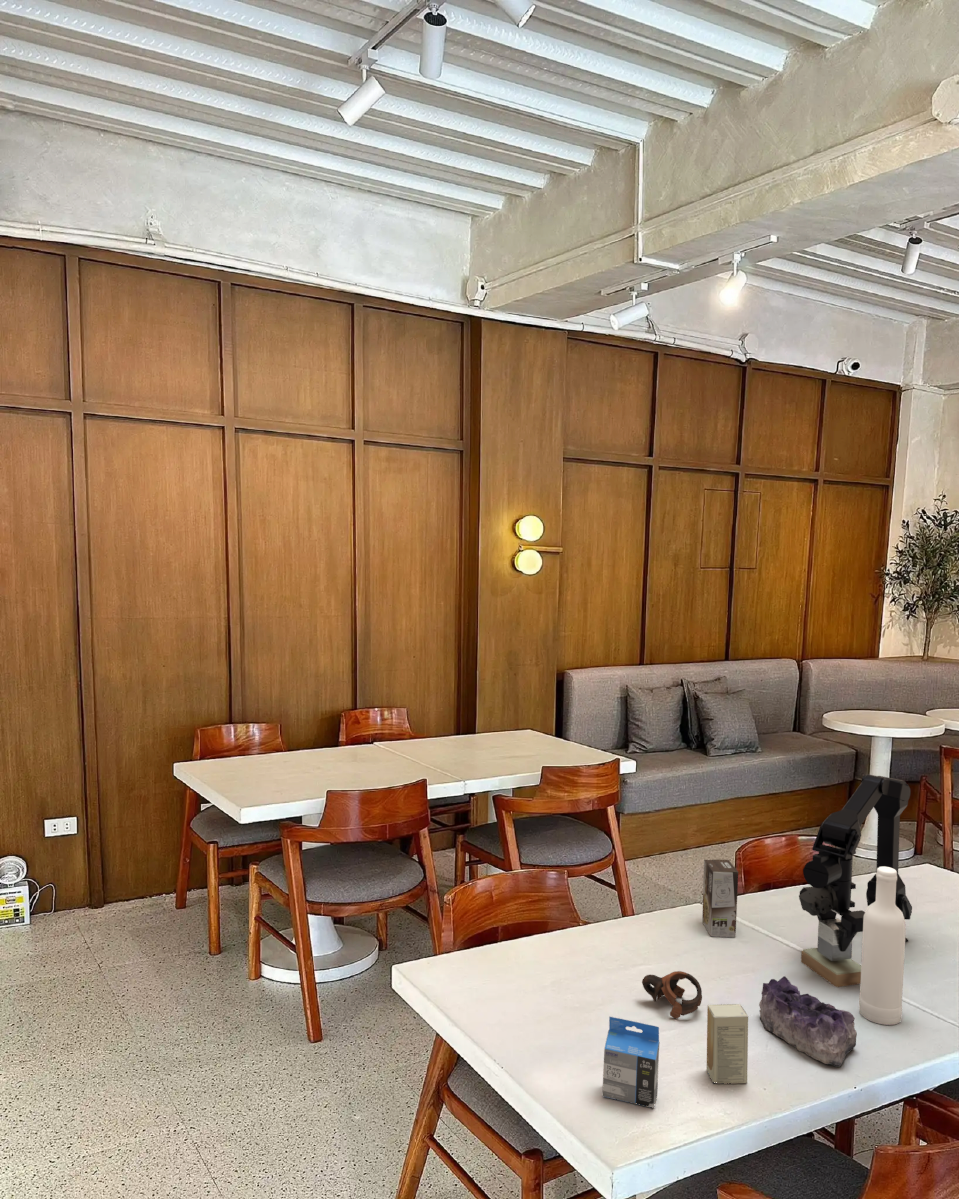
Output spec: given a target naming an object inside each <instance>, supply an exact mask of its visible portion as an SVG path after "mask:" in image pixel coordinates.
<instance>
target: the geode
mask: <svg viewBox="0 0 959 1199" xmlns="http://www.w3.org/2000/svg"><path fill="white" fill-rule="evenodd" d="M758 1006H759V1009H760V1010H759V1015H760V1018H759V1019H760V1021H761V1023H762V1025H763V1028H764V1029H765V1030H767V1031H768V1032H770V1033H773V1034H774V1035H775V1036H777V1037H778V1038H781V1040H783V1041H784V1042H786V1043H788V1044H789V1045H791V1046H792V1047H794V1048H796V1049H797V1051H798V1052H800V1053H805V1055H807V1056H809V1057H811V1058H812V1059H814V1060H816V1061H819V1062H821V1063H823V1064H825V1065H832V1067H837V1068H839V1067H841V1066H842V1064H843V1063H844V1061H845V1059H846V1056H847V1055H848V1054H849V1053H850V1052H851V1051H853V1050H854V1049H855V1047H856V1046H857V1036H858V1035H857V1030H856V1029H855V1017H854V1015H853V1014H852V1012H850V1011H846V1010H844V1009H838V1008H836V1006H834V1005H832V1004H830V1003H825V1002H823V1001H820V1000H819V999H818V997H815V996H813V995H810V994H809V993H803V994H801V991H800V990H799V988H798V986H796V985H794V984H792V983H791V981H790V980H789V979H788V978H787V977H786V975H784V976H782V977H781V978H780V979H779V980H776V979H775V978H771V979H770V980H769V982H768V983H767V982H763V983H762V989H761V999H760V1001H759V1003H758Z"/></svg>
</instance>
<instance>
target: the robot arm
mask: <svg viewBox="0 0 959 1199" xmlns="http://www.w3.org/2000/svg"><path fill="white" fill-rule="evenodd" d="M910 797H911V788H910V786H909V784H907V782H906V781H905V780H902V779H896V778H892V777H888V776H887V777H886V776H882V775H875V774H874V775H873V774H870V773H868V774H864V775H863V776H862V778H861V783H860V784H859V786H858V787H857V788H856V790H855V791H854V793H853V794H852V795H851V797H850V798H849V799H848V801H847V802H846V803H845V805H844V806H843V807H842V809H840V810H837V811H834V812H832V813H830V814H829V815H828V816H827V817H826V818H825V819H824V821H823V822H822V823H821V824H820V826H819V829H818V831H817V834H816V838H815V840H814V843H813V845H812V850H811V851H815V852H816V853H815V854H813V855H812V860H809V861H808V862H806V863H805V865H804V866H803V868H802V872H803V873H802V875H803V877H804V879H805V881H806V883H807V884H808V885H809V886H804V887H802V888H801V889H800V891H799V894H798V899H799V902H800V906H801V909H802V911H804V912H807V913H809V915H811V916H813V917H816V918H817V920H818V921H819V920H828V919H836V918H837V915H839V916H840V920H841V922H835V923H834V924H835V925H836V926H837V927H838V928H839V944H840V951H841V952H844V951H846V949H847V948H848V946H849V944H850V943H851V941H852V942H853V939H854V938H855V936H857V933H863V918H864V914H865V911H864V910H861V909H860V910H853V911H852V910H850V908H855V907H856V902H855V901H853V900H852V898H851V897H852V890H855V889H857V888H856V887H857V886H856V885H857V884H856V883H854V882H852V880H853V860H854V859H853V858H854V857H853V856H854V855H856V853H857V851H856V850H857V848H858V846H859V844H860V842H861V837H862V832H861V827H862V824H863V823H864V821H865V820H866V819H867V817H868V816H869V815H870V813H871V811H872V810H873V809H874V811H875V812H876V814H877V828H876V830H877V835H876V843H877V844H876V866H875V867H876V868H875V869H876V870H875V873H874V875H873V877H872V878H870V880H868V881H867V884H866V885H867V889H866V893H865V894H866V895H865V896H866V898H865V899H866V905H867V907H868V906H869V905H871V904H872V903H874V902H875V901H876V881H877V878H876V873H877V868H879V867H882V866H884V867H890V868H893V869H895V870H896V871H897V881H896V899H895V905H896V906H897V907H898V908H899V909H900V910H901V911H902V913H903V916H904V919H905V921H906V920H908V921H909V920H911V916H912V914H913V906H912V904H911V901H910V900H909V898H908V896H907V893H906V885H905V882H904V881H903V879H902V878H901V876H900V874H899V864H900V861H899V858H900V855H899V854H900V828H901V827H900V825H901V824H900V822H901V820H900V818H901V815H902V813H903V811H905V809H906V808H907V807H908V805H909V799H910ZM823 843H824V844H823ZM908 942H909V939H908V938H907V937H905V943H908Z"/></svg>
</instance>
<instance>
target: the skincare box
mask: <svg viewBox="0 0 959 1199" xmlns="http://www.w3.org/2000/svg"><path fill="white" fill-rule="evenodd" d="M706 1016H707V1020H706V1023H707V1024H706V1028H707V1029H706V1072H707V1071H708V1072H707V1074H708V1073H709V1074H708V1076H709V1075H710V1076H709V1078H711V1079H712V1081H713V1082H715V1083H716V1082H717V1083H724V1085H726V1084H727V1083H728V1084H729V1083H731V1084H748V1053H749V1052H748V1051H749V1049H748V1047H749V1042H748V1041H749V1015H748V1014H747V1012H746V1011H745V1009H744V1007H743V1005H742V1004H740V1003H739V1004H737V1003H732V1004H729V1003H728V1004H727V1003H726V1004H725V1003H724V1004H722V1003H721V1004H707V1015H706ZM711 1079H710V1080H711ZM712 1081H711V1082H712Z"/></svg>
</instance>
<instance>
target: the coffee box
mask: <svg viewBox="0 0 959 1199" xmlns="http://www.w3.org/2000/svg"><path fill="white" fill-rule="evenodd" d="M702 880H703V882H702V889H703V890H702V923H703V926H704V927H705V929H706V931H707V932H708V935H710V937H716V938H717V937H719V938H720V937H721V938H736V937H737V936H736V934H737V915H738V913H737V911H738V889H739V888H738V887H739V886H738V885H739V871H738V870H737V868H736V867H735V866H734V865H733V864H732V863H731V861H730V860H729V859H704V860H703V878H702Z"/></svg>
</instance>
